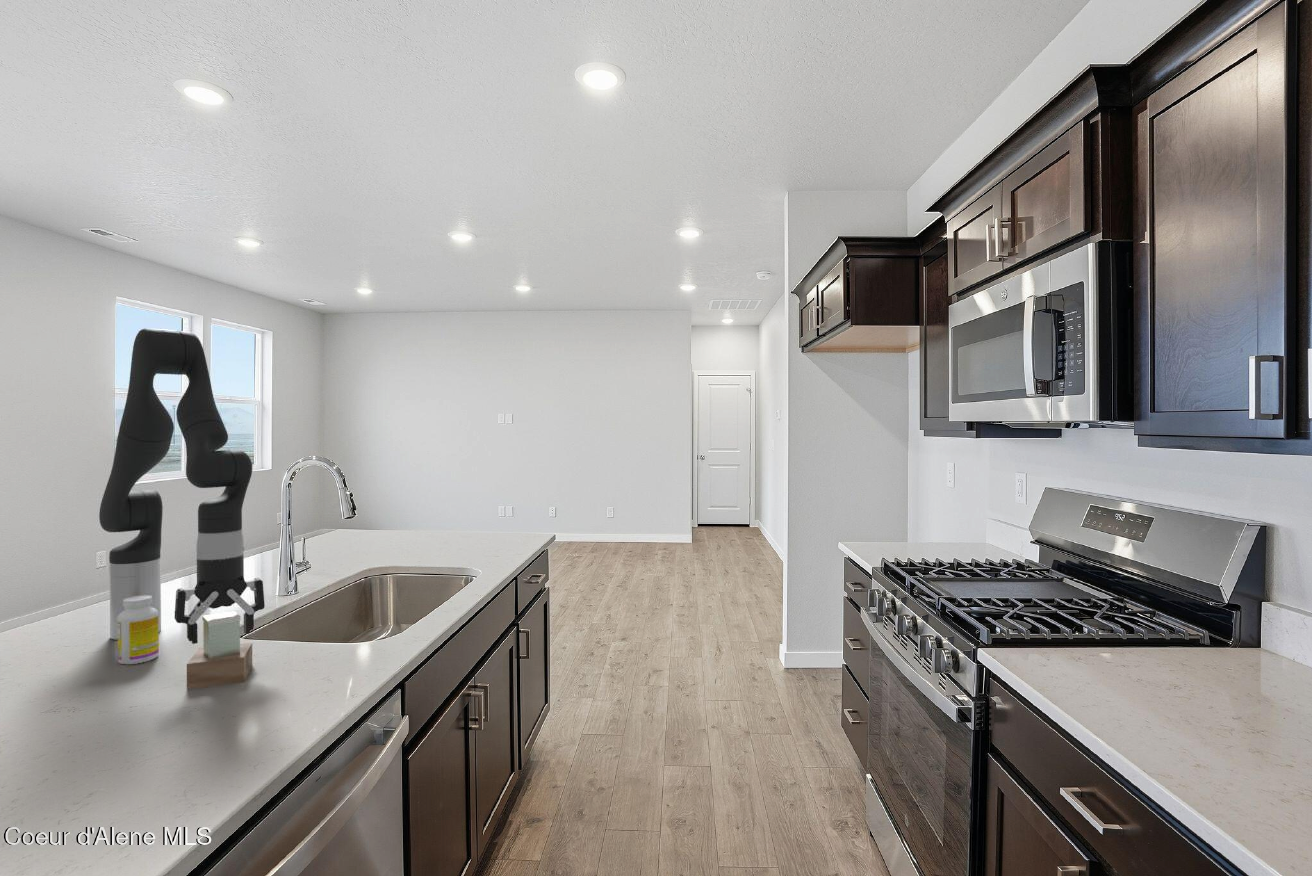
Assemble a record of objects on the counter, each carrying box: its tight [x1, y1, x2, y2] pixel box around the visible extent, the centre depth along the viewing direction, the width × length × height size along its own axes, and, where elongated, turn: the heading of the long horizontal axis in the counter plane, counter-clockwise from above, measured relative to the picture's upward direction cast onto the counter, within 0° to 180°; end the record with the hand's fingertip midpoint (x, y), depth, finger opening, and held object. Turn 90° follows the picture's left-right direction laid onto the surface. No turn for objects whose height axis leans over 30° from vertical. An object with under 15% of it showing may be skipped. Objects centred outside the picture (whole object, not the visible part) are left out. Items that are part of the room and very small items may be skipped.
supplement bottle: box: [117, 595, 160, 665], centre depth 134 cm, size 7×7×13 cm
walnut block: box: [186, 642, 253, 690], centre depth 125 cm, size 9×9×5 cm
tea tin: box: [202, 610, 241, 659], centre depth 125 cm, size 5×5×7 cm
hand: (221, 637), depth 125 cm, fingers open, 8 cm apart
